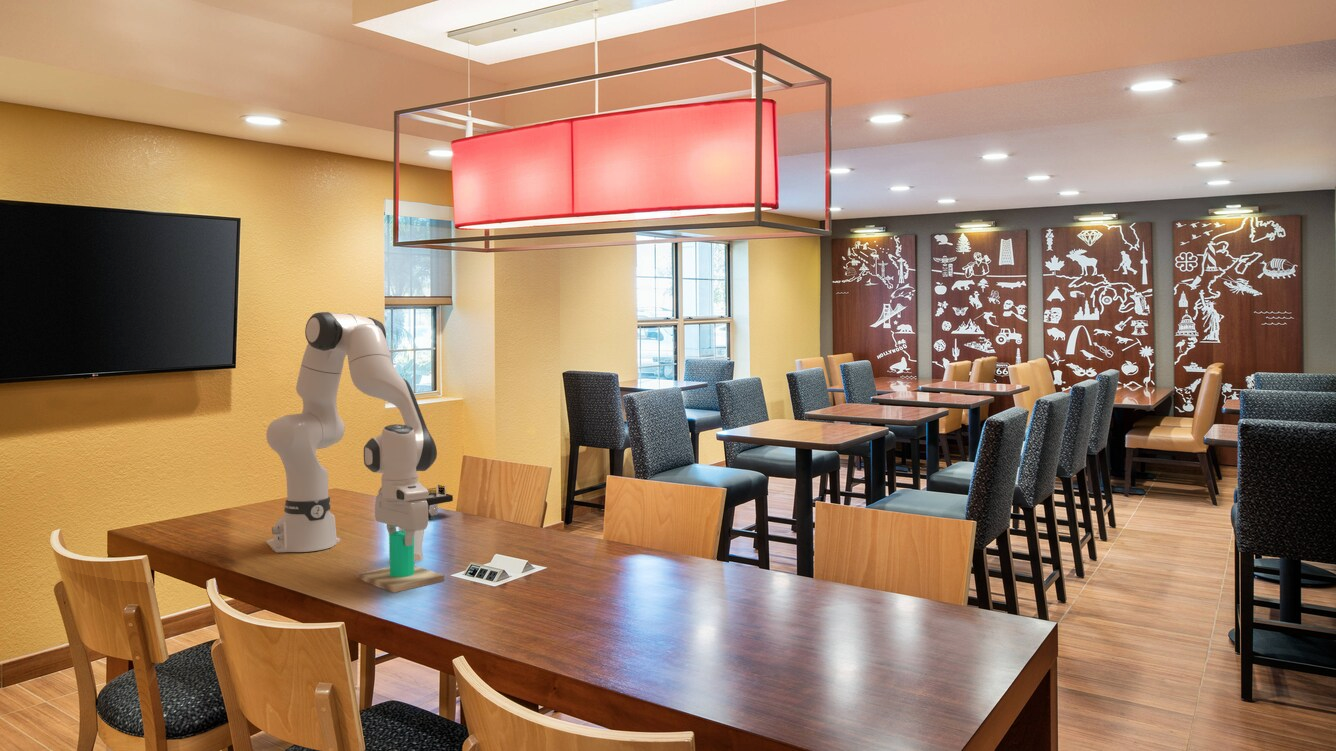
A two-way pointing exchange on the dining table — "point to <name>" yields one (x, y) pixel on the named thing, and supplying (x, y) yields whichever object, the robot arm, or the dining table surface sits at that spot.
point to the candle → (400, 555)
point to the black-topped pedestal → (437, 500)
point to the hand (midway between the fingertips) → (400, 543)
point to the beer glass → (417, 544)
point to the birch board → (400, 579)
